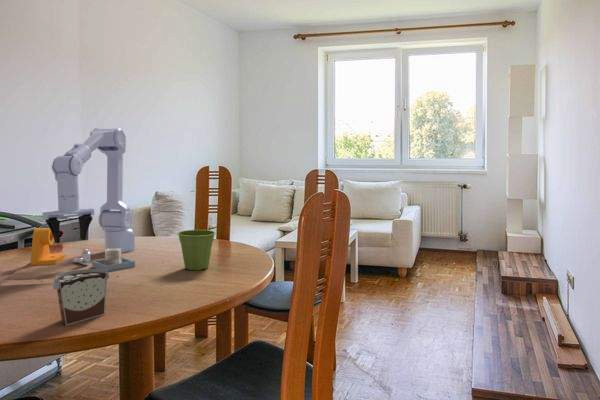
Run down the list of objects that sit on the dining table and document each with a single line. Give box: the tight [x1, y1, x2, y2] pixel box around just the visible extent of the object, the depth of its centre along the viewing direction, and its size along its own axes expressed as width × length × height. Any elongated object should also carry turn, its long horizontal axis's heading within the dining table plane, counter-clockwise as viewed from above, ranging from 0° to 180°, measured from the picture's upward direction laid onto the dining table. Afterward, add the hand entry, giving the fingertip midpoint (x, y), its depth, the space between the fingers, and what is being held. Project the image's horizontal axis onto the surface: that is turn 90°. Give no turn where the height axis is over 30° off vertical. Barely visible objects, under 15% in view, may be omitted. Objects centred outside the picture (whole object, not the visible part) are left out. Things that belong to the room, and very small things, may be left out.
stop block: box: [104, 248, 122, 265], centre depth 160 cm, size 4×4×6 cm
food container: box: [52, 268, 110, 327], centre depth 115 cm, size 12×6×10 cm, turn 145°
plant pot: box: [176, 229, 217, 271], centre depth 163 cm, size 12×12×11 cm
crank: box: [72, 248, 91, 266], centre depth 164 cm, size 9×3×5 cm, turn 45°
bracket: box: [30, 227, 67, 266], centre depth 168 cm, size 11×7×12 cm, turn 6°
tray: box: [91, 256, 136, 273], centre depth 160 cm, size 9×9×3 cm
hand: (70, 241), depth 158 cm, fingers open, 7 cm apart
